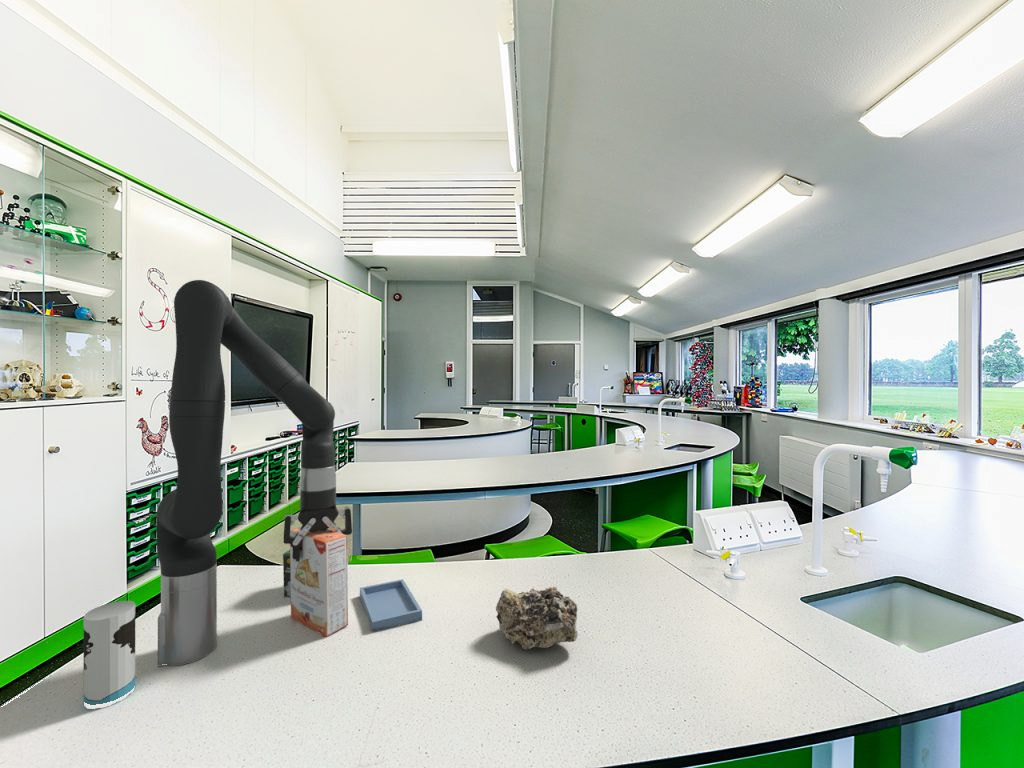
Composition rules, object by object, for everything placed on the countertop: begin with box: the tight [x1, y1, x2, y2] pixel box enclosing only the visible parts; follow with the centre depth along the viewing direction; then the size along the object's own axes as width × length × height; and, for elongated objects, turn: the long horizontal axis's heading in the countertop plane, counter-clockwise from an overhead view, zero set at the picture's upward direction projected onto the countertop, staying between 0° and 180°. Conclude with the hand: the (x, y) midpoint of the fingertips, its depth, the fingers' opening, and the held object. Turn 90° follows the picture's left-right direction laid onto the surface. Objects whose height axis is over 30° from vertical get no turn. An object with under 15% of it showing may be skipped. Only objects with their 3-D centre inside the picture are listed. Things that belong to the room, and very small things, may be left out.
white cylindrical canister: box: [83, 600, 136, 705], centre depth 78 cm, size 7×7×15 cm
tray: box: [359, 578, 423, 633], centre depth 109 cm, size 11×19×2 cm, turn 27°
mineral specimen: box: [495, 586, 579, 650], centre depth 97 cm, size 16×18×10 cm
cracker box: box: [289, 526, 349, 638], centre depth 102 cm, size 14×6×21 cm, turn 56°
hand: (318, 557), depth 102 cm, fingers closed on cracker box, 8 cm apart
